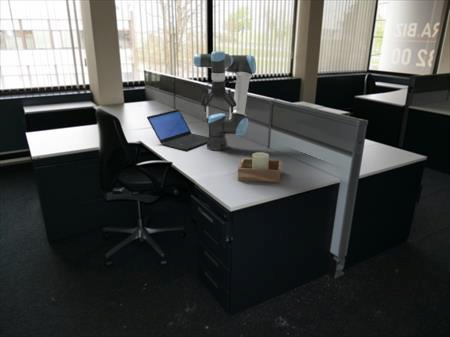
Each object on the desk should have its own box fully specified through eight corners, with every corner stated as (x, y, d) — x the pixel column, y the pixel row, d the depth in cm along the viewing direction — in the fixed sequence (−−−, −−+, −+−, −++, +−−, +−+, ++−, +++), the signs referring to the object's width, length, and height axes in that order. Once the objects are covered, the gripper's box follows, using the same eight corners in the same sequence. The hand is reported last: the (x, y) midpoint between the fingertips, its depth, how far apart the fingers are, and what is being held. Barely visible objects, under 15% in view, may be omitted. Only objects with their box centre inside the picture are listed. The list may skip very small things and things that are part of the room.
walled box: (242, 169, 204) (242, 158, 202) (280, 171, 200) (281, 160, 198) (238, 180, 189) (238, 168, 187) (279, 183, 185) (280, 171, 183)
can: (251, 171, 199) (251, 151, 194) (267, 171, 199) (267, 151, 194) (252, 177, 190) (253, 157, 186) (269, 177, 190) (270, 156, 186)
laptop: (185, 152, 236) (184, 124, 228) (148, 142, 257) (146, 116, 250) (216, 140, 260) (215, 114, 253) (180, 132, 281) (178, 108, 274)
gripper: (195, 81, 193) (196, 118, 201) (239, 81, 189) (239, 120, 197) (198, 79, 200) (199, 115, 208) (241, 79, 196) (241, 117, 204)
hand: (219, 117), depth 202 cm, fingers open, 13 cm apart
